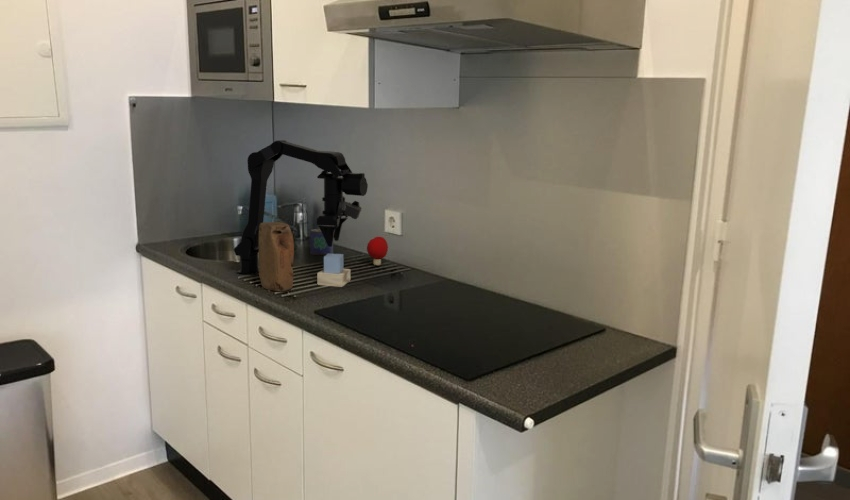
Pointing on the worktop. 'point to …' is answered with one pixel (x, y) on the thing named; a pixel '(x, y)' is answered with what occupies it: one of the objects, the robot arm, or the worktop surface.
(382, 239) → the red toy tree
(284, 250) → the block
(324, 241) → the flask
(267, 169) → the robot arm
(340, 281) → the beech base
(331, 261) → the slate cube
